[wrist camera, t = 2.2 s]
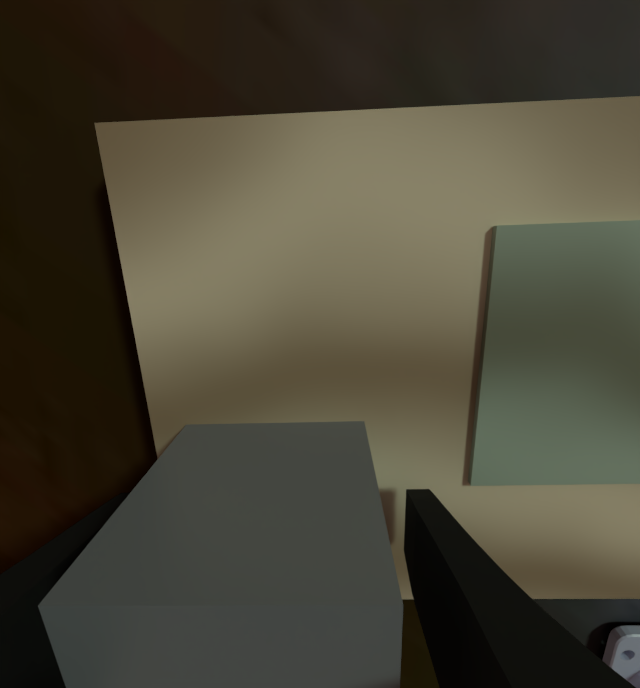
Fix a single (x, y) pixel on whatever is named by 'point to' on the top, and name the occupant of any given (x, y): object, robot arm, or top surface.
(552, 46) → the top surface
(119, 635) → the grey matte cube
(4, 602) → the robot arm
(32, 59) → the top surface
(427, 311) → the board
